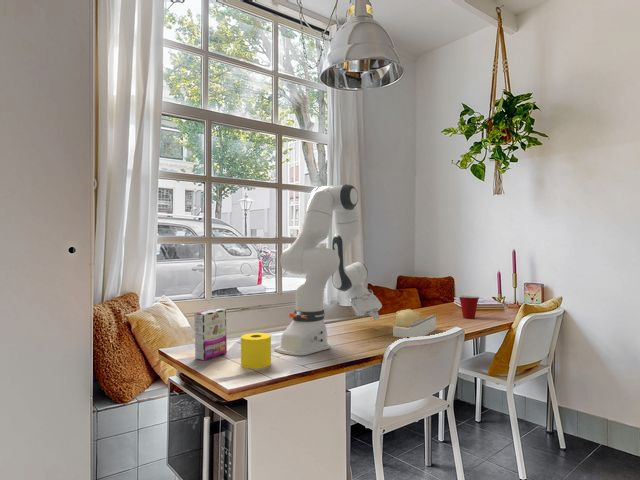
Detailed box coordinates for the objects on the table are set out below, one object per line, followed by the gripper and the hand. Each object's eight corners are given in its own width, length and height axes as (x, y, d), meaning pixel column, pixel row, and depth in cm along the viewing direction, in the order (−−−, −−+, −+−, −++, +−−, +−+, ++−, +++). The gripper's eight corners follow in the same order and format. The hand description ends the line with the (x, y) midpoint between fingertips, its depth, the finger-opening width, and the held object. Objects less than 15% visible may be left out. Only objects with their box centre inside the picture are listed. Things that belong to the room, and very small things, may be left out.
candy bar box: (217, 351, 156) (217, 308, 156) (227, 353, 154) (227, 309, 154) (194, 358, 147) (193, 312, 147) (203, 361, 144) (203, 313, 144)
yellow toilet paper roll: (236, 363, 142) (236, 335, 142) (262, 358, 148) (262, 331, 148) (248, 370, 134) (248, 341, 134) (276, 365, 140) (276, 336, 140)
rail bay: (413, 341, 171) (413, 325, 171) (388, 338, 177) (388, 322, 177) (435, 329, 194) (435, 315, 194) (413, 326, 200) (413, 312, 200)
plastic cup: (481, 317, 224) (481, 295, 224) (477, 320, 215) (477, 297, 215) (461, 315, 230) (461, 293, 230) (456, 318, 221) (456, 295, 221)
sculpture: (422, 331, 190) (422, 307, 190) (419, 337, 179) (419, 312, 179) (397, 329, 194) (397, 306, 194) (393, 335, 182) (393, 310, 182)
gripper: (352, 294, 190) (372, 318, 185) (373, 289, 207) (391, 311, 202) (344, 303, 193) (363, 326, 187) (365, 298, 210) (383, 319, 204)
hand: (378, 318), depth 195 cm, fingers closed
